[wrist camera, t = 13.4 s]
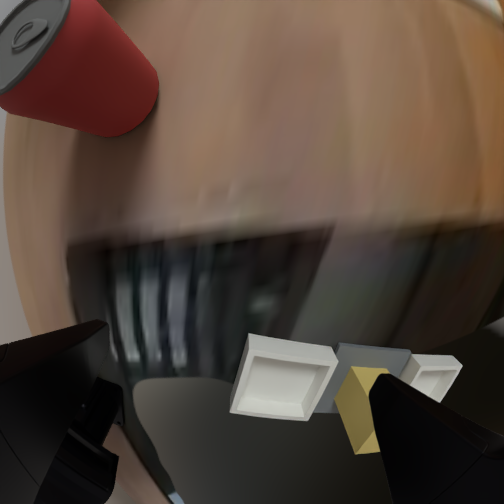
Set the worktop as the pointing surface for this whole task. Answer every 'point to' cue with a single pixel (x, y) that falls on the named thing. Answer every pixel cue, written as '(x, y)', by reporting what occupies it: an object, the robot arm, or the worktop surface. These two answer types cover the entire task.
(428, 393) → the white square tray
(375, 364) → the slate coaster
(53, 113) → the beer can
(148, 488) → the worktop surface
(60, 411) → the robot arm
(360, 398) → the tan carton
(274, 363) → the shallow white dish
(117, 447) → the worktop surface
